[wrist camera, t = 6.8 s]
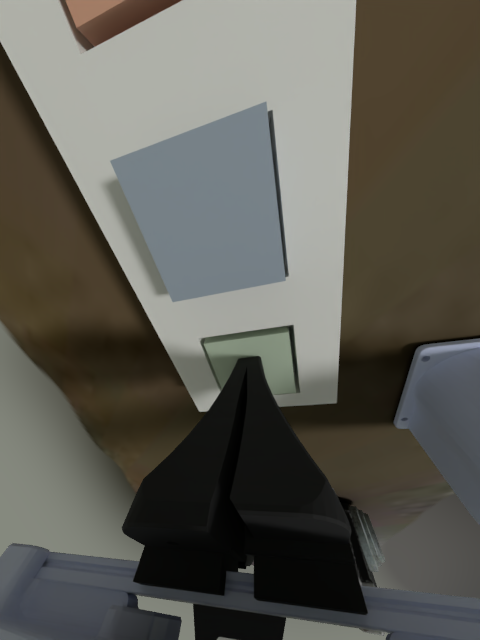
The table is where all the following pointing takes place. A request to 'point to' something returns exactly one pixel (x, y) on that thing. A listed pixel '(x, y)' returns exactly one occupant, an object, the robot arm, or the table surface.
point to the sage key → (255, 343)
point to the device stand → (235, 624)
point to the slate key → (209, 205)
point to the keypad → (197, 110)
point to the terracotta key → (112, 16)
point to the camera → (363, 548)
